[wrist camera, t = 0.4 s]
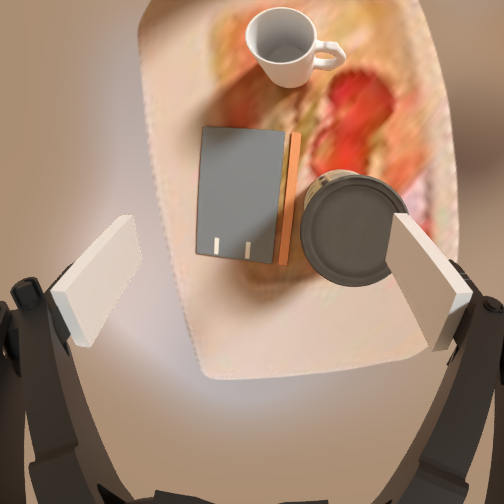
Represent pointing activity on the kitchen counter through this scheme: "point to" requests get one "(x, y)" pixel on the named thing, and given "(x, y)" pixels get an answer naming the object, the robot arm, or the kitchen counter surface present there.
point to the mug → (289, 46)
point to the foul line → (290, 198)
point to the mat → (239, 192)
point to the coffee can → (349, 227)
